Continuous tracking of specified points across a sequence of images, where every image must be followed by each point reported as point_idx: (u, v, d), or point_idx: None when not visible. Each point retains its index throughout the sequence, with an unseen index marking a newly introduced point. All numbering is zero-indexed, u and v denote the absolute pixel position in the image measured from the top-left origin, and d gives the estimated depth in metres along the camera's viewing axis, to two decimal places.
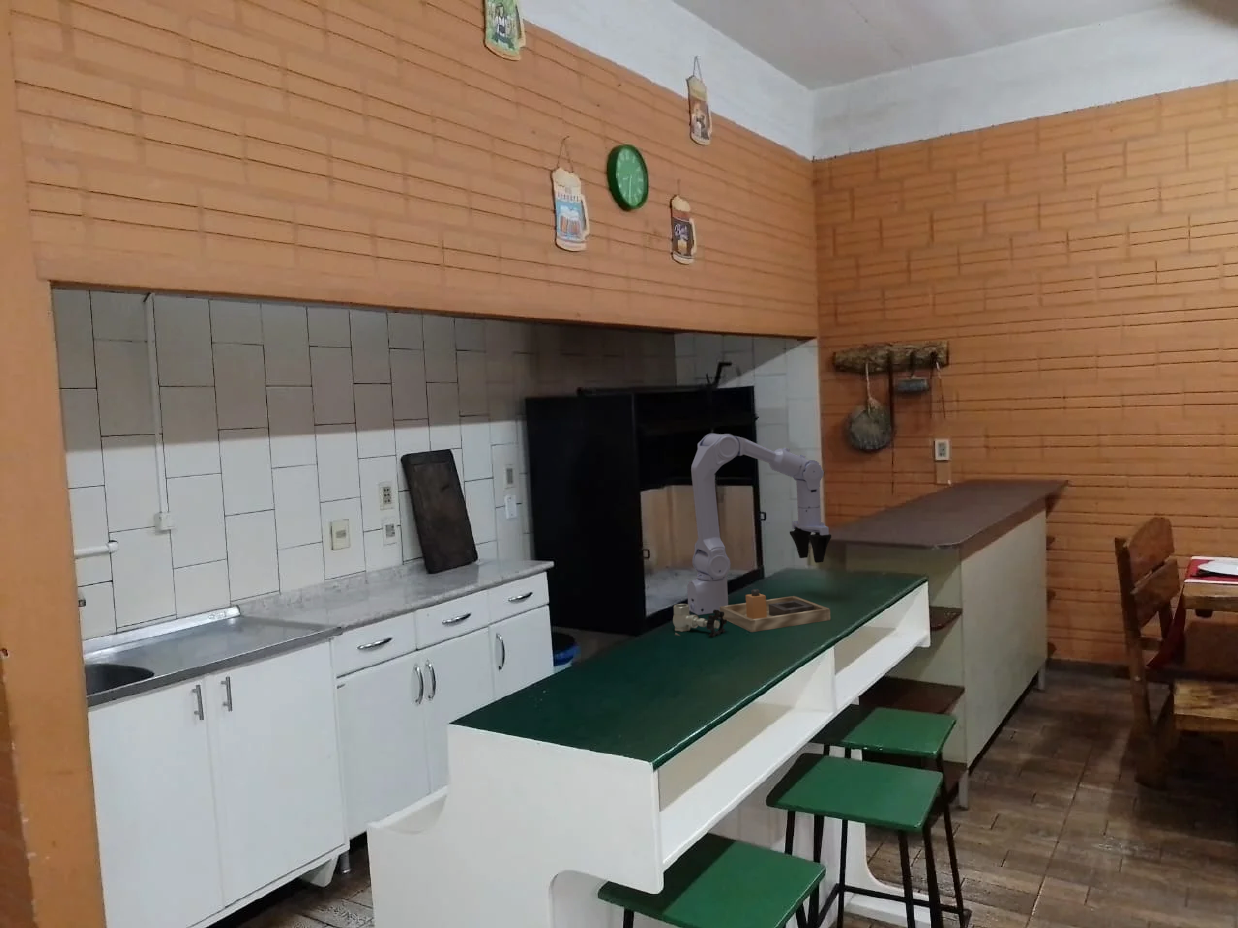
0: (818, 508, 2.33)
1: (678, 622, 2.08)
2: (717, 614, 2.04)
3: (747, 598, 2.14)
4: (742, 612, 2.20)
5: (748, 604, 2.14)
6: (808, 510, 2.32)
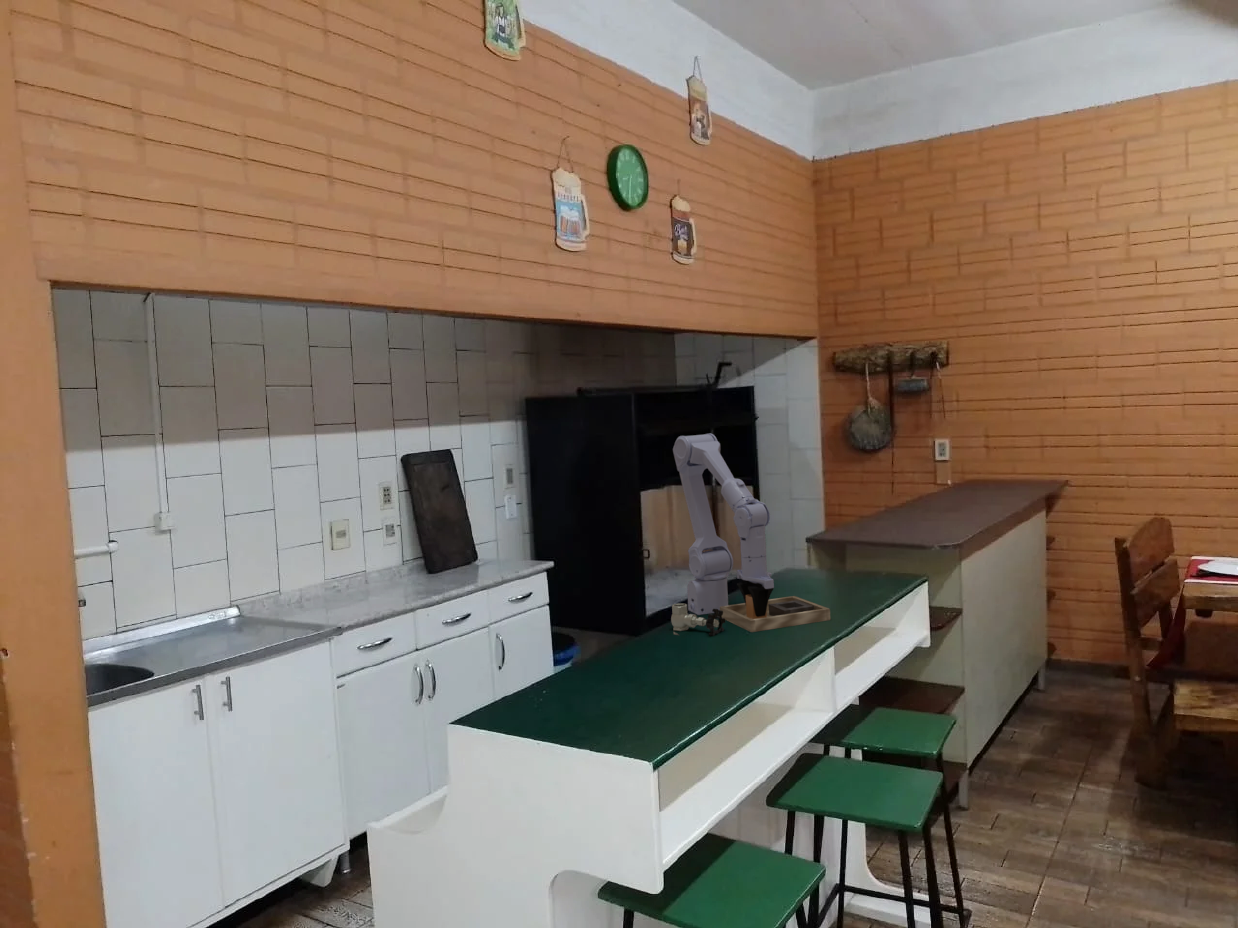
0: (763, 558, 2.11)
1: (677, 622, 2.09)
2: (716, 613, 2.05)
3: (747, 598, 2.14)
4: (742, 612, 2.20)
5: (748, 604, 2.14)
6: (752, 560, 2.10)
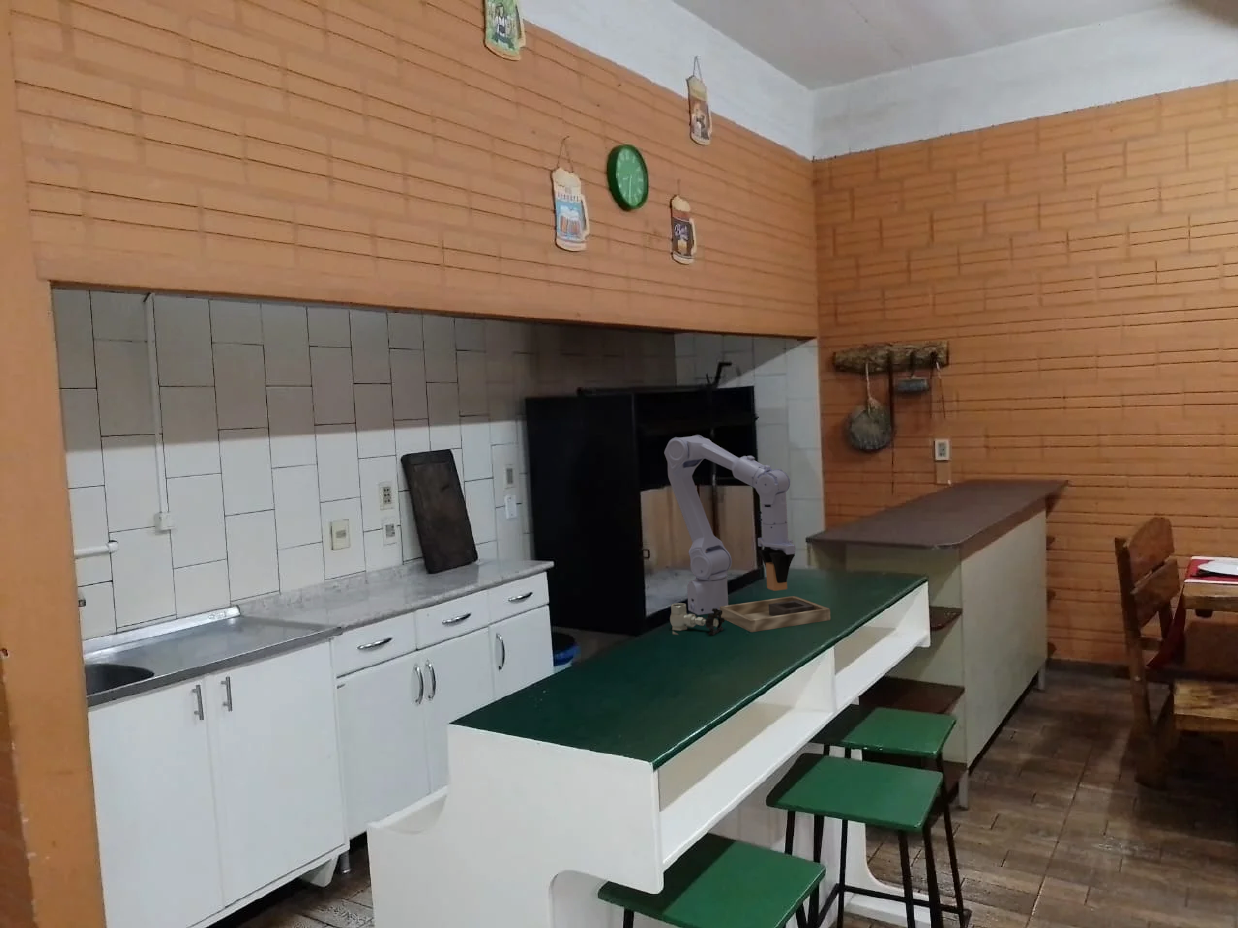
0: (784, 524, 2.12)
1: (676, 621, 2.09)
2: (716, 613, 2.05)
3: (767, 566, 2.15)
4: (742, 612, 2.20)
5: (768, 572, 2.15)
6: (773, 526, 2.11)
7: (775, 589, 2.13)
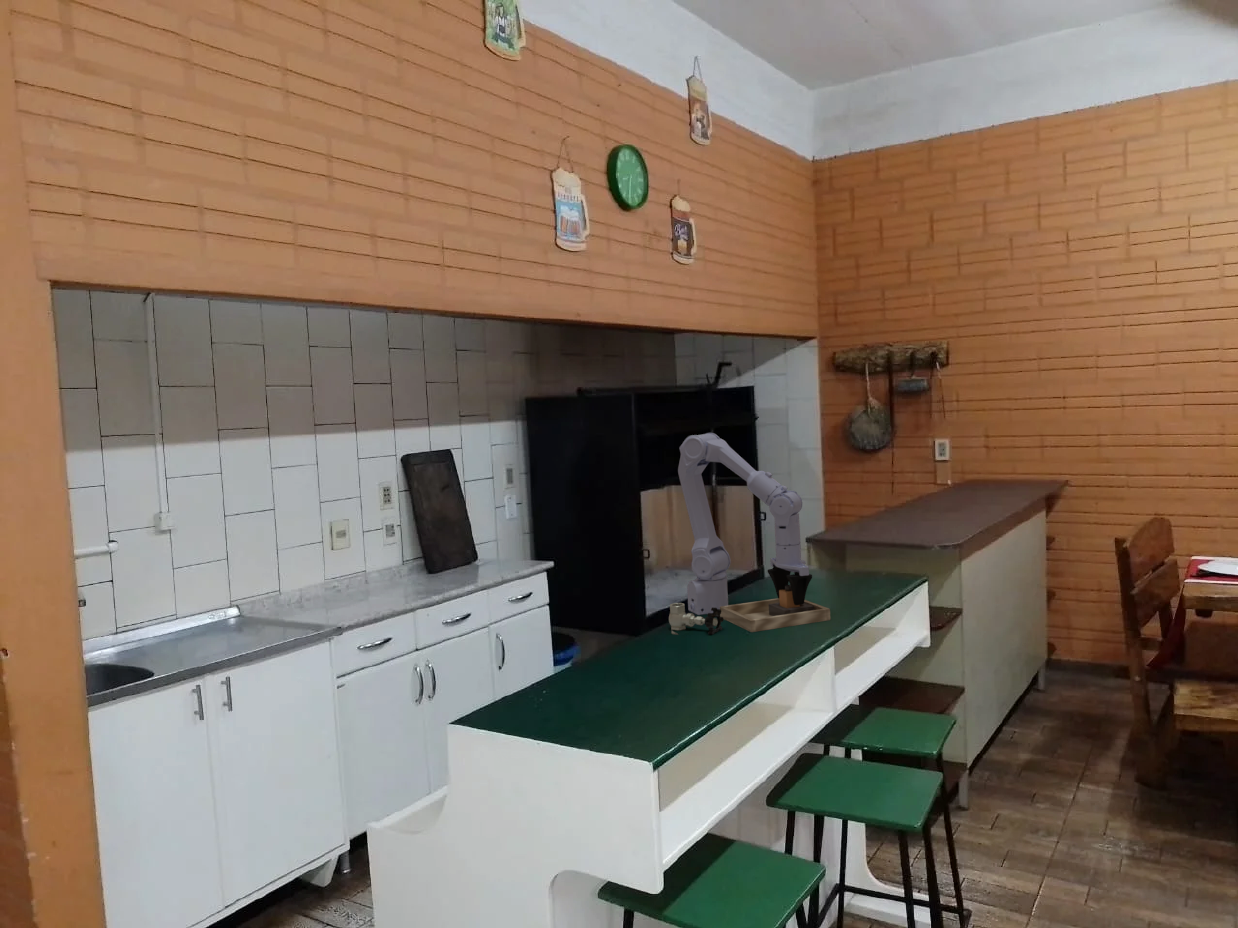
0: (798, 545, 2.13)
1: (675, 621, 2.10)
2: (715, 612, 2.06)
3: (781, 594, 2.16)
4: (742, 612, 2.20)
5: (781, 600, 2.16)
6: (787, 548, 2.13)
7: None
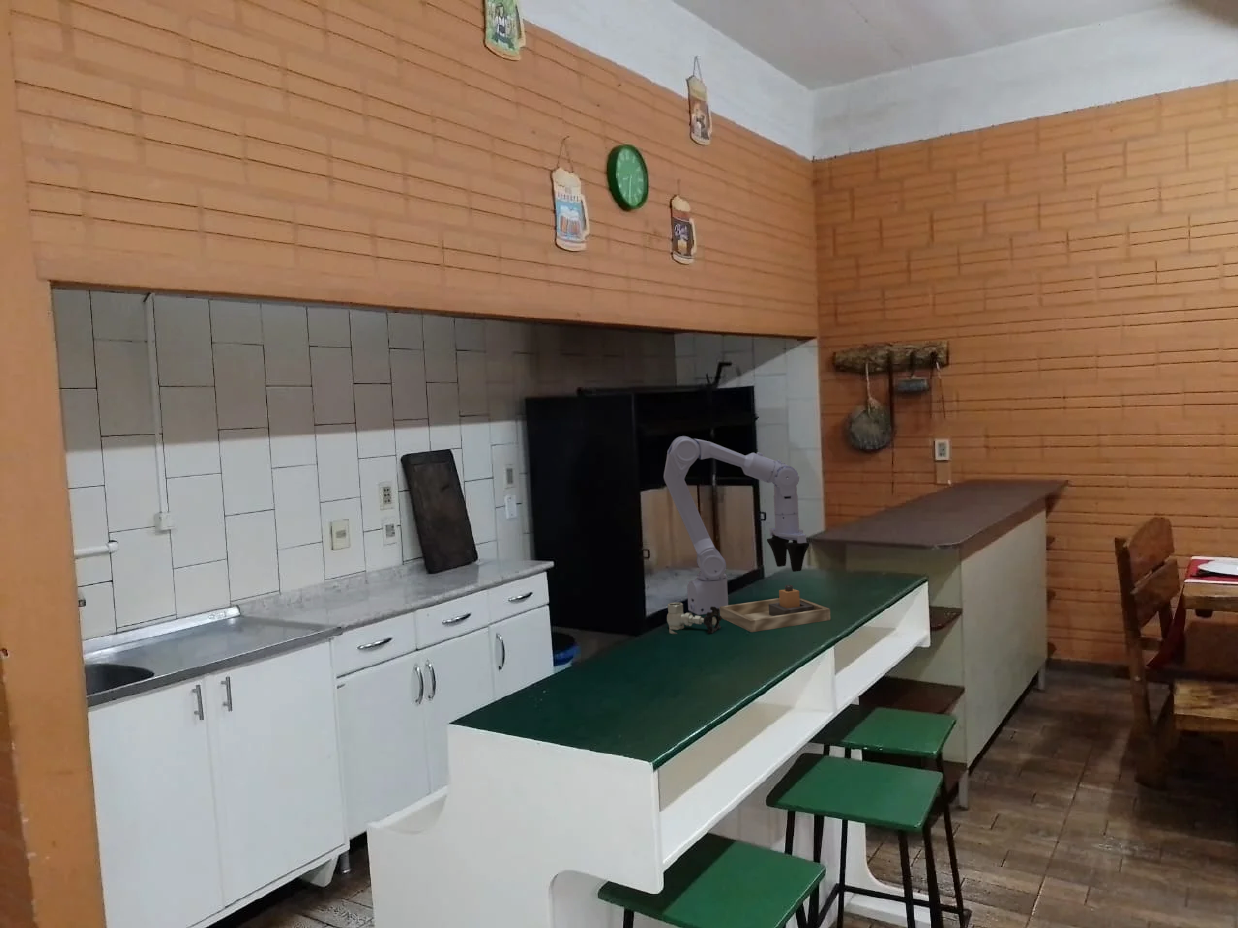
0: (796, 515, 2.24)
1: (673, 621, 2.10)
2: (714, 611, 2.07)
3: (781, 594, 2.16)
4: (742, 612, 2.20)
5: (781, 600, 2.16)
6: (785, 517, 2.24)
7: None
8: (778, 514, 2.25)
